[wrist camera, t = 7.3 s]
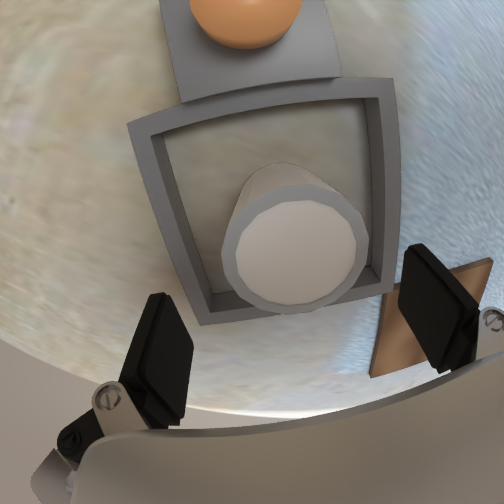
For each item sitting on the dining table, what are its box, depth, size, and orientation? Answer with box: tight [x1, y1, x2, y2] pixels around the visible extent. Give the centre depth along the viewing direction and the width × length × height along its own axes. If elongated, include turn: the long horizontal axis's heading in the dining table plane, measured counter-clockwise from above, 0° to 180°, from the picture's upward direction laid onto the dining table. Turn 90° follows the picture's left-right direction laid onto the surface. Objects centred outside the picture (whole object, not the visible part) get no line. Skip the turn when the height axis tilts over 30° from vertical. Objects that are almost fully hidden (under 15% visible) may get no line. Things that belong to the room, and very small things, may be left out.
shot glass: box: [221, 163, 369, 314], centre depth 15 cm, size 7×7×7 cm
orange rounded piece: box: [190, 0, 302, 49], centre depth 9 cm, size 4×4×4 cm
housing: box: [127, 0, 401, 326], centre depth 15 cm, size 15×23×4 cm, turn 11°
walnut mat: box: [369, 257, 494, 378], centre depth 24 cm, size 14×14×1 cm
